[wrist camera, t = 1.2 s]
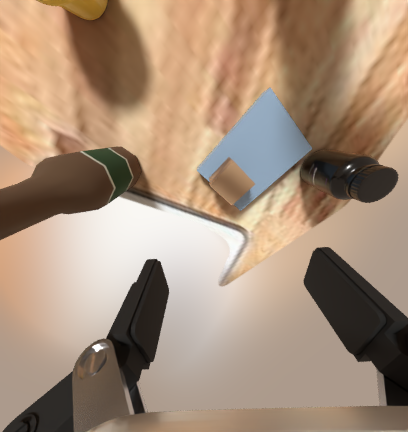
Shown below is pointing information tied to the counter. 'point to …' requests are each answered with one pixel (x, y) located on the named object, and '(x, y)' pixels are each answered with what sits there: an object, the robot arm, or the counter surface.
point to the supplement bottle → (348, 175)
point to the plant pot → (80, 7)
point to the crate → (230, 181)
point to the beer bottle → (67, 187)
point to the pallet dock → (259, 146)
